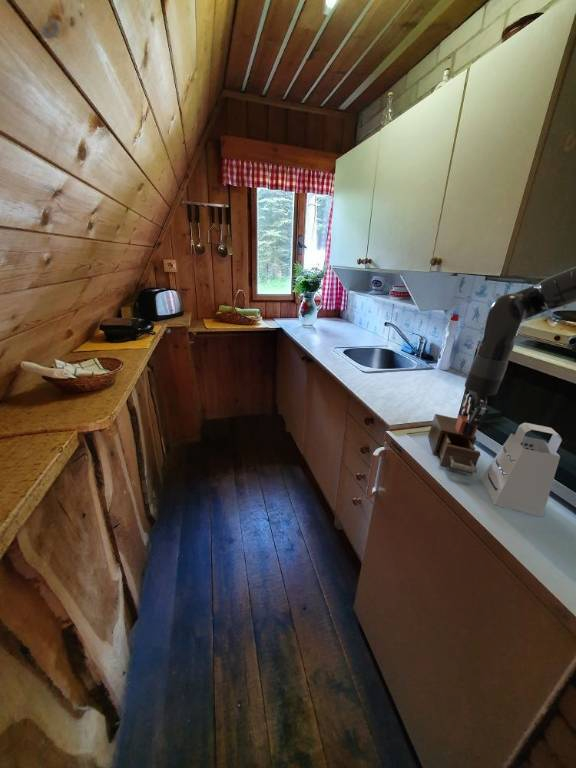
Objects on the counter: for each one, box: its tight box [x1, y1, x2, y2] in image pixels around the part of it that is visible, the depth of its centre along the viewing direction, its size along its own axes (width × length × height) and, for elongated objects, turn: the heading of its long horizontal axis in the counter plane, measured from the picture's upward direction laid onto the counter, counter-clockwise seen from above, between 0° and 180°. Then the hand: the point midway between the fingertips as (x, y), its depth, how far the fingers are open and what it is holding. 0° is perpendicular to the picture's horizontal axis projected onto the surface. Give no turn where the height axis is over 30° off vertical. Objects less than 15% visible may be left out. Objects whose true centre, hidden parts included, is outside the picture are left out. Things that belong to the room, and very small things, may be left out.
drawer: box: [438, 433, 481, 475], centre depth 87 cm, size 15×8×7 cm, turn 163°
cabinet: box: [427, 413, 477, 457], centre depth 96 cm, size 12×10×9 cm
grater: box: [481, 422, 563, 518], centre depth 75 cm, size 10×10×20 cm
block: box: [455, 414, 479, 437], centre depth 84 cm, size 4×4×4 cm
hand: (464, 431), depth 85 cm, fingers closed on block, 4 cm apart
